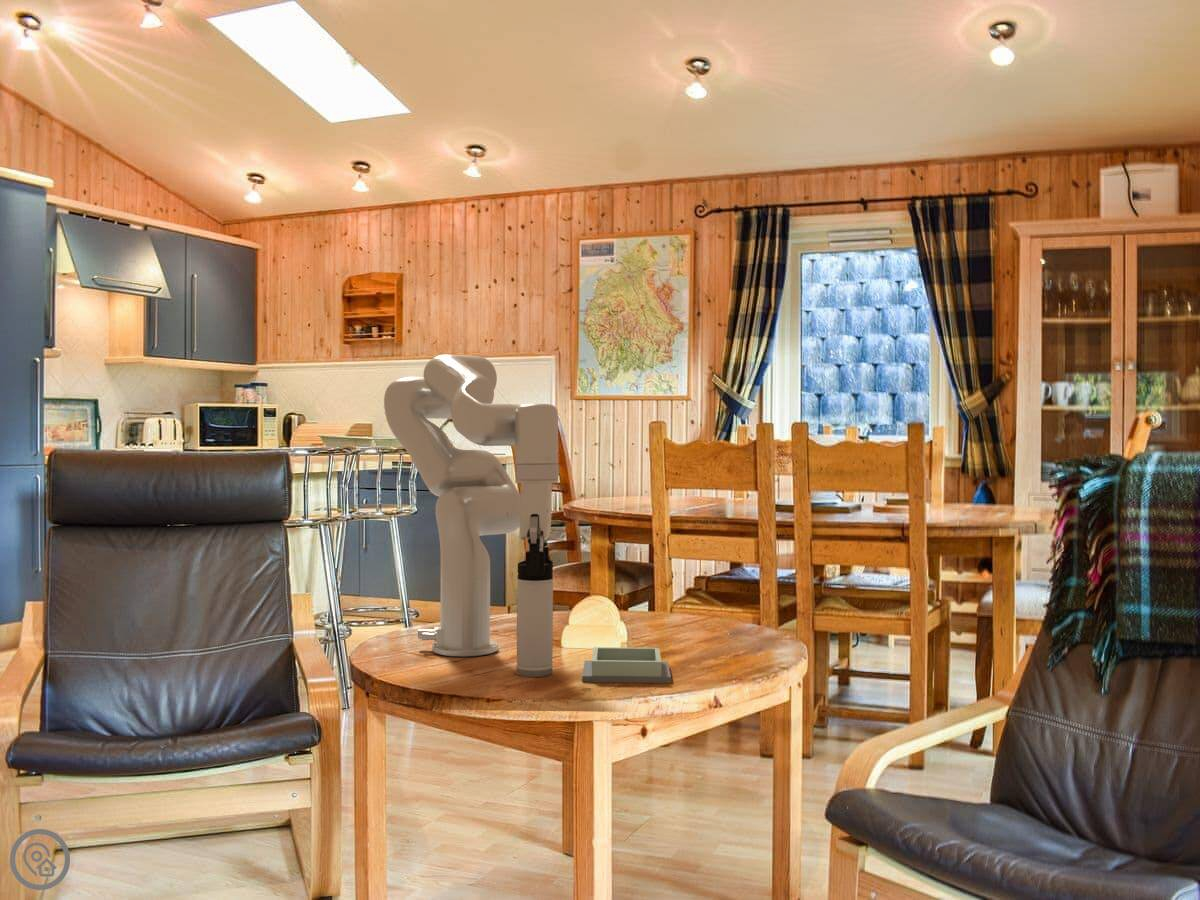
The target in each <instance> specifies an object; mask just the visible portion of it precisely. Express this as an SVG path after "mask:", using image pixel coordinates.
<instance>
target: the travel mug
mask: <svg viewBox="0 0 1200 900" xmlns="http://www.w3.org/2000/svg"><path fill="white" fill-rule="evenodd" d="M553 569H554V562H553V561H552V560H550V558H545V574H544V576H527V575H526V559H525V560H522V561H519V562H518V563H517V578H516V581H517V584H516V587H517V588H516V674H517V675H518V676H520V675H521V676H520V677H524V678H525V677H527V678H542V677H541V676H544V677H547V676H550V675H552V674H553V653H554V652H553V651H554V650H553V646H554V645H553V642H554V641H553V634H554V633H553V632H554V629H553V627H554V626H553V625H554V623H553V622H554V621H553V620H554V619H553V618H554V599H553V598H554V583H553V582H554V575H553V572H554V570H553Z"/></svg>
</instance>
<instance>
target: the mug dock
mask: <svg viewBox="0 0 1200 900" xmlns="http://www.w3.org/2000/svg"><path fill="white" fill-rule="evenodd" d="M583 663H584V664H583V669H582V676H581V677H582V678H581V681H585V682H584V683H626V684H627V683H636V684H637V683H639V684H641V683H642V684H643V683H644V684H646V683H647V684H671V683H672V677H671V675H672V674H671V671H670V665H669V662H668V661H666V660H665V661H664V660H662V656H661V651H660V647H618V646H617V647H616V646H615V647H614V646H613V647H609V646H608V647H606V646H605V647H603V646H602V647H601V646H600V647H599V646H598V647H597V646H595V647H594V646H593V650H592V658H591V660H584V662H583Z"/></svg>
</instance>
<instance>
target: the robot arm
mask: <svg viewBox="0 0 1200 900" xmlns="http://www.w3.org/2000/svg"><path fill="white" fill-rule="evenodd" d="M497 379H498V375H497V372H496V369H495V366H494V364H493V363H492V362H491V361H490V360H489V359H487V358H486V357H484V356H483V357H482V356H479V355H478V356H477V355H461V354H460V355H459V354H440V355H437V356H435V357H432V358H431V359H430V360H429V361H428V362H427V363H426V365H425V367H424V368H423V377H422V376H406V377H403V378H399V379H396V380H394V381H392V382H391V383H390V384H389V385H388V386H387V387H386V389H385V393H384V396H383V407H384V413H385V418H386V421H387V424H388V427H389V428H390V430H391V433H392V434H393V436H394V437H395V439H396V440H397V441H398V442H399V444H400V445H401V446H402V447H403V448H404V450H406V452H407V454H408V455H409V457H410V458H411V460H412V463H413V464H414V466H415V468H416V470H417V472H418V474H419V476H420V478H421V480H422V481H423V482H424V484H425V485H426V487H427V488H428V491H429V492H430V493H431V494H433V495H434V496H436V497H438V498H437V500H436V503H435V520H436V525H437V531H438V536H439V537H438V538H439V548H440V555H439V556H440V614H439V615H440V616H439V617H440V619H439V620H440V621H439V622H440V625H439V626H438V627H434V629H427V628H419V629H418V630H417V639H418V640H421V641H433V642H434V643H433V644H432V646H431V651H432V652H433V653H434V654H437V655H439V656H448V657H477V656H478V657H479V656H486V655H490V654H493V653H496V652H498V650H499V644H498V643H497V641H494V640H490V639H491V637H490V636H491V635H490V634H491V559H490V554H489V552H488V549H487V548H486V547H485V545H484V543H483V542H482V539H481V537H483V536H491V535H505V534H511V533H513V532H515V531H517V530H519V533H518V535H519V536H518V537H519V540H521V541H524V540H526V552H525V560H526V575H527V576H544V574H545V558H549V552H550V551H549V546H548V538H549V537H550V535H551V528H552V511H553V510H552V509H553V508H552V506H553V504H552V501H553V500H552V499H553V495H552V494H553V493H552V489H553V487H552V486H553V485H552V484H556V483H557V484H558V483H559V412H558V409H557V407H556V406H555V405H553V404H549V403H524V404H510V403H493V401H494V397H495V389H496V387H497V386H496V385H497ZM429 419H441V420H442V419H445V420H446V419H447V420H449V419H451V421H452V424H453V426H454V428H455V430H456V431H457V432H458V433H459V434H460V435H462V436H463V438H465V439H466V440H468V441H470V443H473V444H474V445H478V446H483V447H496V446H497V447H500V446H501V447H503V446H504V447H506V446H508V447H514V453H515V454H514V459H515V460H514V463H515V464H514V465H515V466H514V468H515V469H514V470H515V472H514V474H515V483H514V482H513V481H512V480H513V479H511V477H510V475H509V474H508V472H507V470H506V469H505V467H504V466H503V463H501V461H500V460H499V459H498V457H497V456H496V455H494V453H492V452H489V451H487V450H481V449H460V448H456V446H454V445H453V443H452V442H451V441H450V439H449V437H448V435H447V434H446V433H445V431H444V430H443V429H441V428H440V427H439V426H438V425H436V424H435V423H433V422H432V421H430V420H429ZM515 484H521V485H520V492H519V491H518V489H517V487H516V486H515ZM480 536H481V537H480ZM549 559H550V558H549Z"/></svg>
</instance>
